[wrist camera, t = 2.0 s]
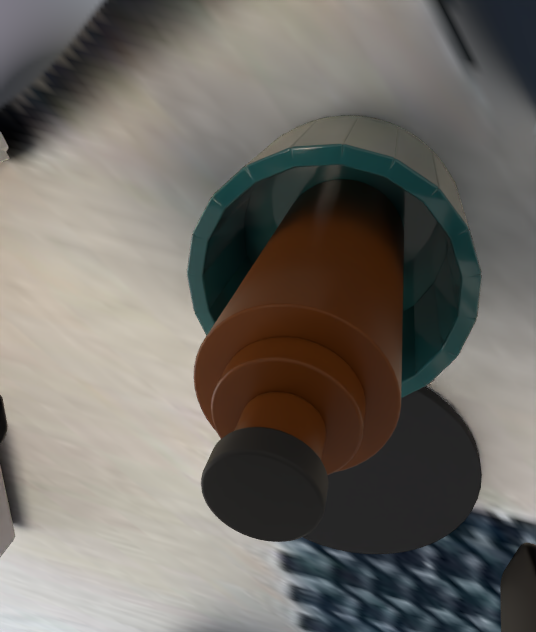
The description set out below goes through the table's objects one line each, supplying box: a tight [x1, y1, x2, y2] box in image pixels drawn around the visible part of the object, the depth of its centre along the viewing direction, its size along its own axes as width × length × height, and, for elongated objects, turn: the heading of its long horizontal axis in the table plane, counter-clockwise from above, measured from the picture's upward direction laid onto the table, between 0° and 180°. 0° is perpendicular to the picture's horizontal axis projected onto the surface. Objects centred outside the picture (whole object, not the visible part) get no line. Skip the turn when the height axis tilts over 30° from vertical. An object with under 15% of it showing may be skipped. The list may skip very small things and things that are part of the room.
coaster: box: [303, 387, 482, 554], centre depth 23 cm, size 11×11×1 cm
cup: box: [187, 115, 482, 398], centre depth 16 cm, size 8×8×5 cm
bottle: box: [194, 179, 404, 542], centre depth 13 cm, size 4×4×12 cm
